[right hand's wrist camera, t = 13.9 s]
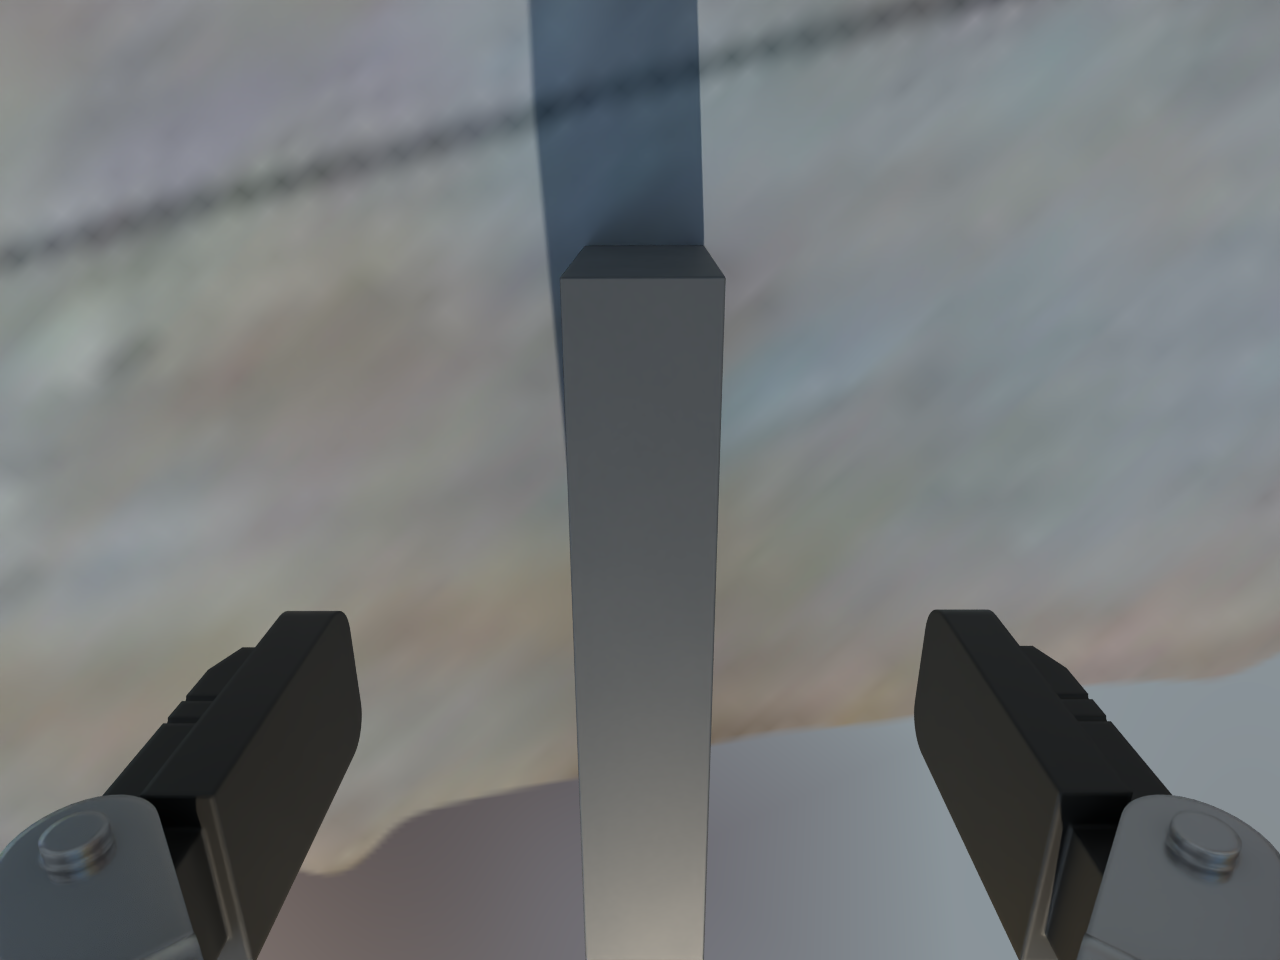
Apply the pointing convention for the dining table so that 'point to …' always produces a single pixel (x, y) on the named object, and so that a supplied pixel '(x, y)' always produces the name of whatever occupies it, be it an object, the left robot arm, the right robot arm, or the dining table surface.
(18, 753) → the dining table surface
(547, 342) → the dining table surface
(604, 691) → the bar
